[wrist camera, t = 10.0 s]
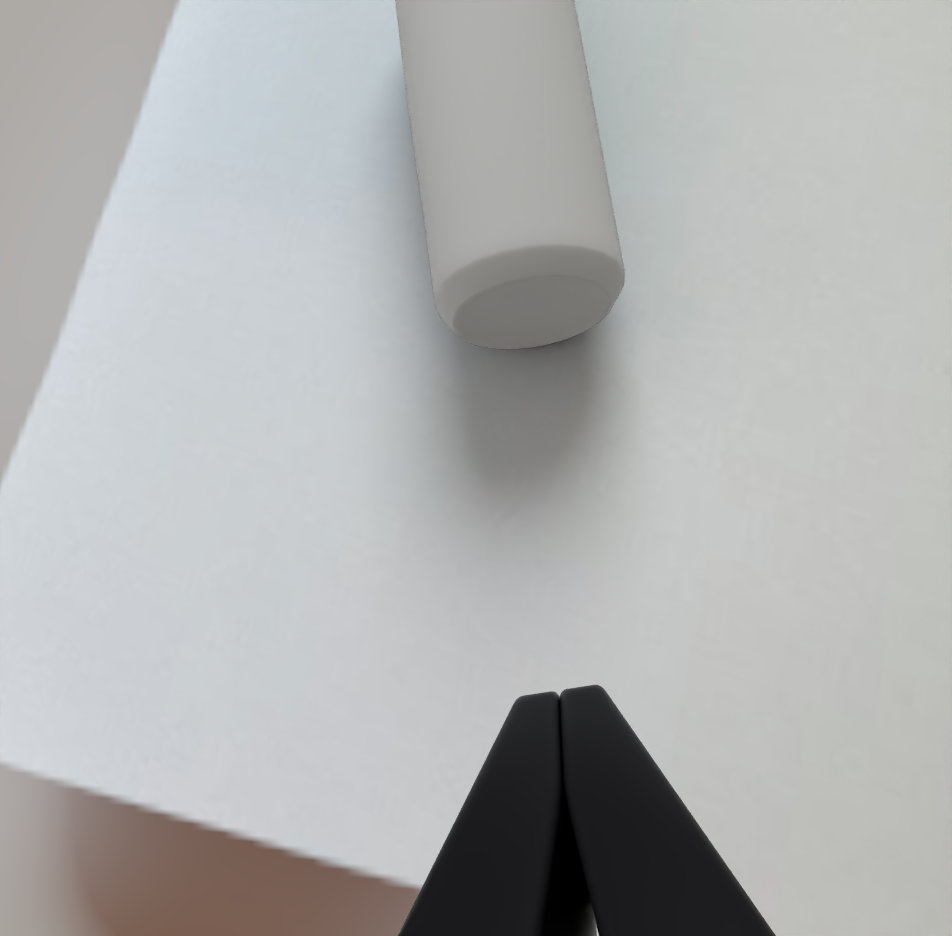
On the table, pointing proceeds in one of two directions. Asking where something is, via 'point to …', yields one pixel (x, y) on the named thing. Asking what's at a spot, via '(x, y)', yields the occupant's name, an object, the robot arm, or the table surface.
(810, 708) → the table surface
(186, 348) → the table surface
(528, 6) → the beverage can
